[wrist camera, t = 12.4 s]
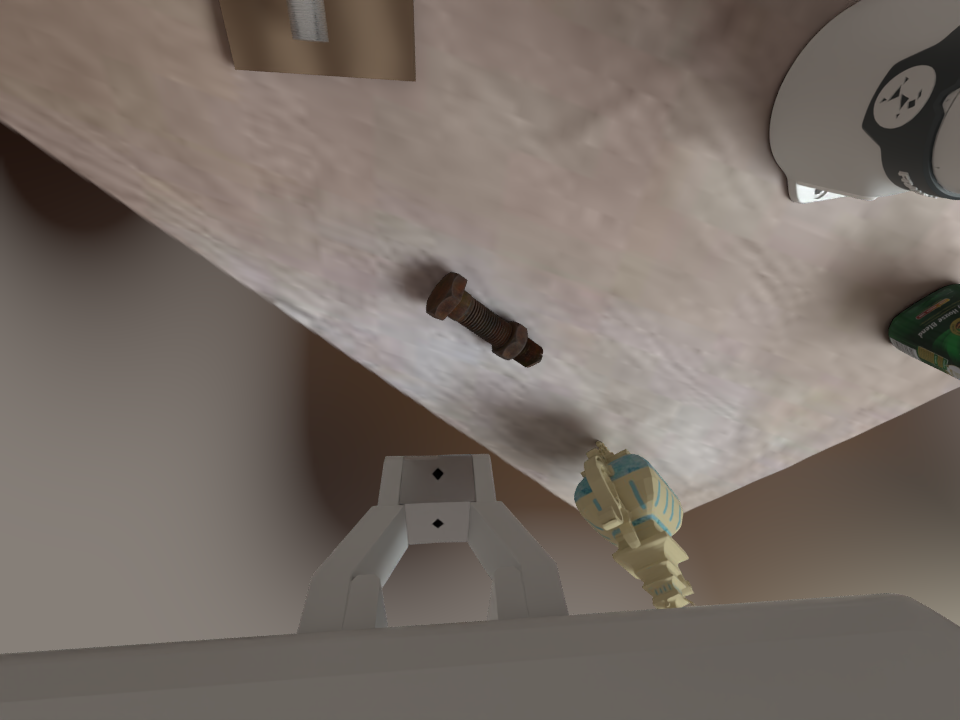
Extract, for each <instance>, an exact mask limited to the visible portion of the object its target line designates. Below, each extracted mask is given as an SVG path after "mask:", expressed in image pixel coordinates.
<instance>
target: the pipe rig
mask: <svg viewBox="0 0 960 720" xmlns="http://www.w3.org/2000/svg"><path fill="white" fill-rule="evenodd" d="M219 3H220V7H221V12H222V16H223V20H224V24H225V28H226V32H227V37H228V41H229V45H230V49H231V53H232V58H233V62H234V66H235V70H249V71H264V72H280V73H295V74H310V75H325V76H340V77H355V78H370V79H386V80H401V81H416V72H415V39H414V6H413V0H219Z"/></svg>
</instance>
